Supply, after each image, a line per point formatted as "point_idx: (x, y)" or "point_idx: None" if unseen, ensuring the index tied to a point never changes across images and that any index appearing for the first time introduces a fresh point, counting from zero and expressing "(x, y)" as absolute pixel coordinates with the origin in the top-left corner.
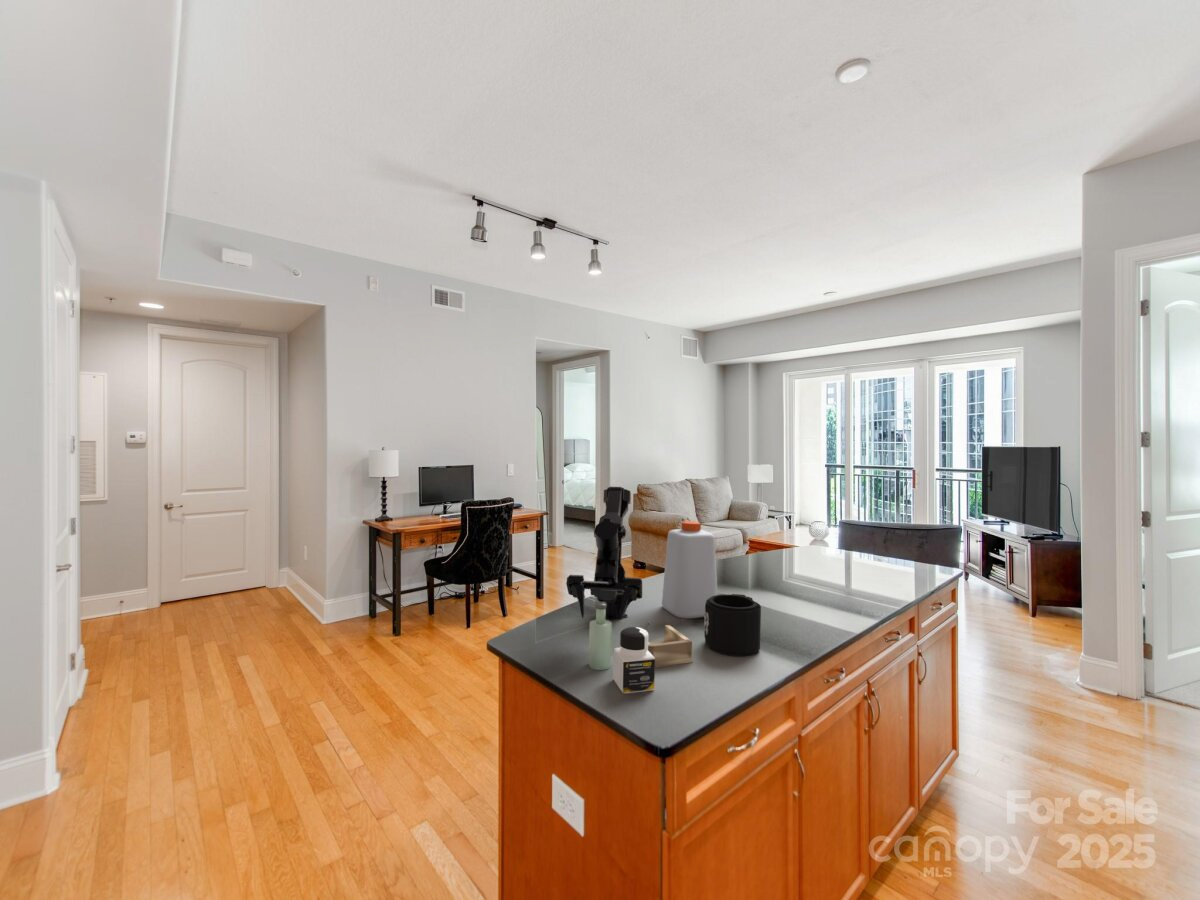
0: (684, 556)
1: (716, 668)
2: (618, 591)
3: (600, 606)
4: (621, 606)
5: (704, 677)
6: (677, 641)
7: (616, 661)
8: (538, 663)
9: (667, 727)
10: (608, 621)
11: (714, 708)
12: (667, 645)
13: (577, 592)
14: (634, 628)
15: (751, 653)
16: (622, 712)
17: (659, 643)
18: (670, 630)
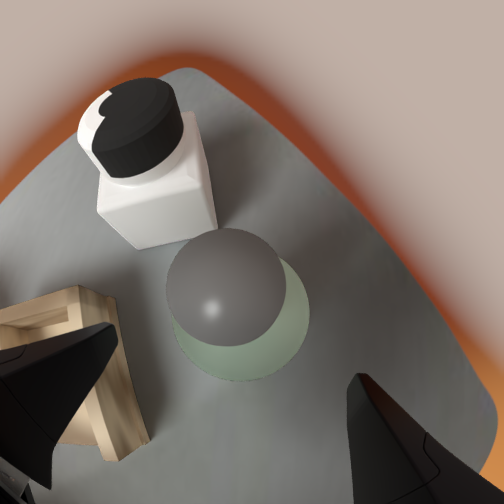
0: None
1: (5, 284)
2: None
3: (236, 232)
4: (64, 348)
5: (33, 244)
6: (11, 318)
7: (204, 173)
8: (425, 334)
9: None
10: (187, 338)
11: (77, 141)
12: (35, 299)
13: (470, 473)
14: (111, 111)
15: None
16: (222, 113)
17: (47, 309)
18: None
